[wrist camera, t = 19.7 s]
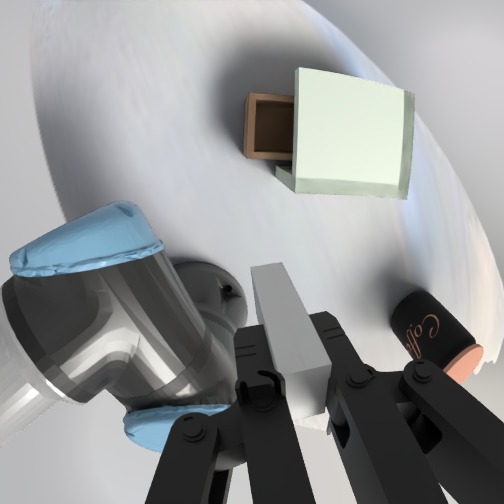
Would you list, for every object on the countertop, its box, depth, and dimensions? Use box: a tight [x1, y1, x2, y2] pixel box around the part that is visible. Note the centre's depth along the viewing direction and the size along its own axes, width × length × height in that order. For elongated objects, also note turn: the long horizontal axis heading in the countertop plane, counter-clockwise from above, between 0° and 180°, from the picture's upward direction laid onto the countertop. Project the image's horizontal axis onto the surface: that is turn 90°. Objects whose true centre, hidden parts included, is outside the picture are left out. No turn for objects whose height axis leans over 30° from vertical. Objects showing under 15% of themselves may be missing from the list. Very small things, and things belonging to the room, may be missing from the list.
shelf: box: [275, 67, 414, 200], centre depth 27 cm, size 13×12×10 cm
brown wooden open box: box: [243, 93, 295, 161], centre depth 29 cm, size 12×7×6 cm, turn 88°
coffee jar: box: [392, 292, 483, 384], centre depth 38 cm, size 11×11×18 cm
